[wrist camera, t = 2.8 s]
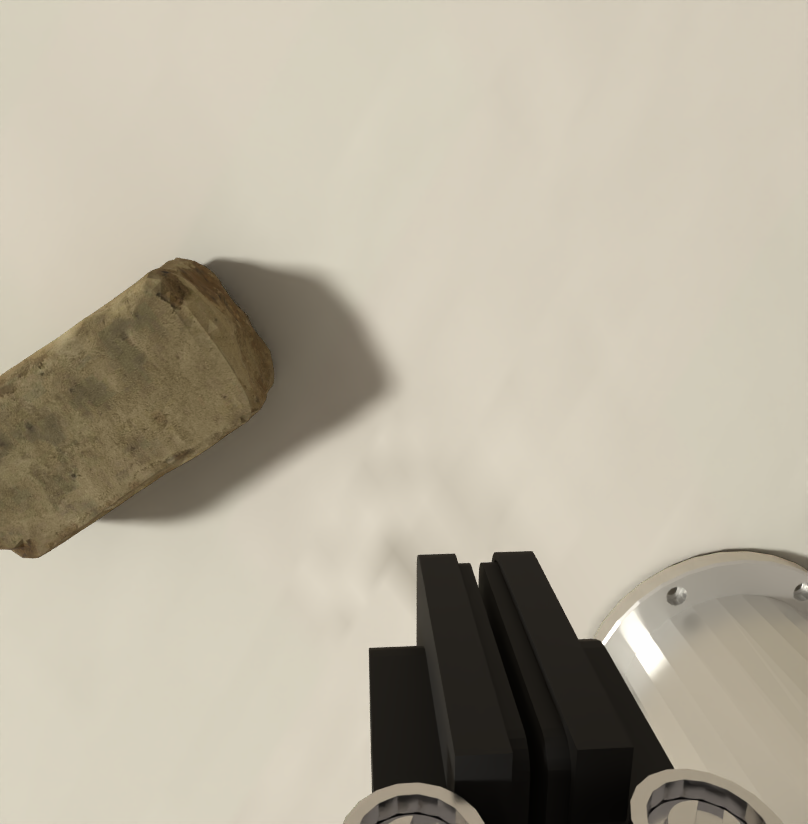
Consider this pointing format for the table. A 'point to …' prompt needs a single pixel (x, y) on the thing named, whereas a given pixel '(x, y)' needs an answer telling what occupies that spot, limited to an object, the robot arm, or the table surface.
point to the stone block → (123, 403)
